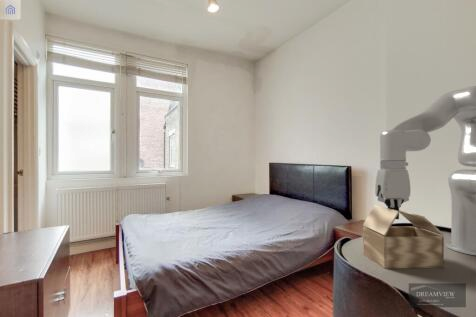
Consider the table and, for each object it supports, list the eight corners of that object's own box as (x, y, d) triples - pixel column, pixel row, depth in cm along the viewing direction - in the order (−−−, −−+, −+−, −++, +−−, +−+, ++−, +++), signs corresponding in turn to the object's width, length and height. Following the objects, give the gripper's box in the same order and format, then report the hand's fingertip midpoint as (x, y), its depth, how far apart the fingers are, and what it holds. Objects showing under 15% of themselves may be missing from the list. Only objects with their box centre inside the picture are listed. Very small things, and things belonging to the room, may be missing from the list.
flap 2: (414, 225, 89) (414, 224, 89) (442, 235, 78) (443, 234, 78) (396, 210, 89) (397, 209, 89) (423, 217, 77) (424, 216, 77)
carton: (413, 253, 89) (414, 226, 89) (443, 267, 77) (443, 236, 78) (362, 253, 88) (363, 226, 88) (385, 268, 76) (385, 237, 76)
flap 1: (376, 205, 88) (375, 204, 88) (399, 211, 77) (398, 211, 77) (363, 225, 88) (362, 225, 88) (385, 235, 76) (384, 234, 76)
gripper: (404, 165, 87) (405, 215, 87) (365, 165, 86) (366, 216, 86) (422, 165, 79) (422, 220, 79) (379, 166, 78) (380, 222, 78)
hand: (393, 218), depth 83 cm, fingers closed
